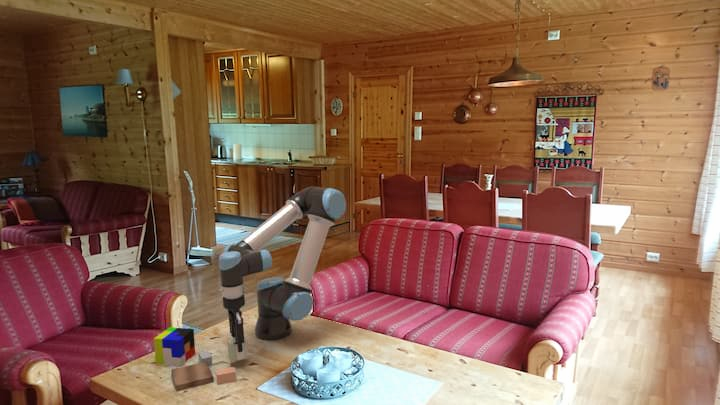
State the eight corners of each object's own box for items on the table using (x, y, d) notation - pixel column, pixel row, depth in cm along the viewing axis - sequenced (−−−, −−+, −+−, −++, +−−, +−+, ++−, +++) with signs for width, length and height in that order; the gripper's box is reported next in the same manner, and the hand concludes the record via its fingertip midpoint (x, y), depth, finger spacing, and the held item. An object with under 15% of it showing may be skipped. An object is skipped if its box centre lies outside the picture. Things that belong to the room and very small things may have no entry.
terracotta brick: (234, 376, 167) (234, 366, 166) (236, 381, 164) (235, 371, 163) (216, 379, 165) (216, 370, 164) (217, 384, 161) (217, 375, 161)
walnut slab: (207, 366, 174) (206, 361, 173) (213, 381, 163) (213, 376, 163) (171, 374, 168) (171, 369, 168) (176, 391, 158) (175, 385, 157)
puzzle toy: (180, 366, 174) (178, 340, 172) (156, 364, 176) (153, 338, 174) (195, 353, 184) (193, 329, 182) (171, 351, 186) (169, 327, 184)
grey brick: (199, 361, 178) (198, 352, 177) (208, 358, 180) (208, 350, 179) (202, 368, 173) (201, 358, 172) (212, 365, 175) (211, 356, 174)
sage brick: (244, 353, 178) (243, 335, 177) (247, 357, 174) (246, 339, 173) (228, 357, 175) (227, 339, 174) (231, 362, 172) (229, 343, 170)
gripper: (217, 290, 176) (223, 349, 180) (228, 305, 161) (234, 369, 166) (237, 286, 180) (243, 344, 184) (250, 300, 165) (255, 363, 169)
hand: (238, 356), depth 175 cm, fingers closed on sage brick, 4 cm apart
